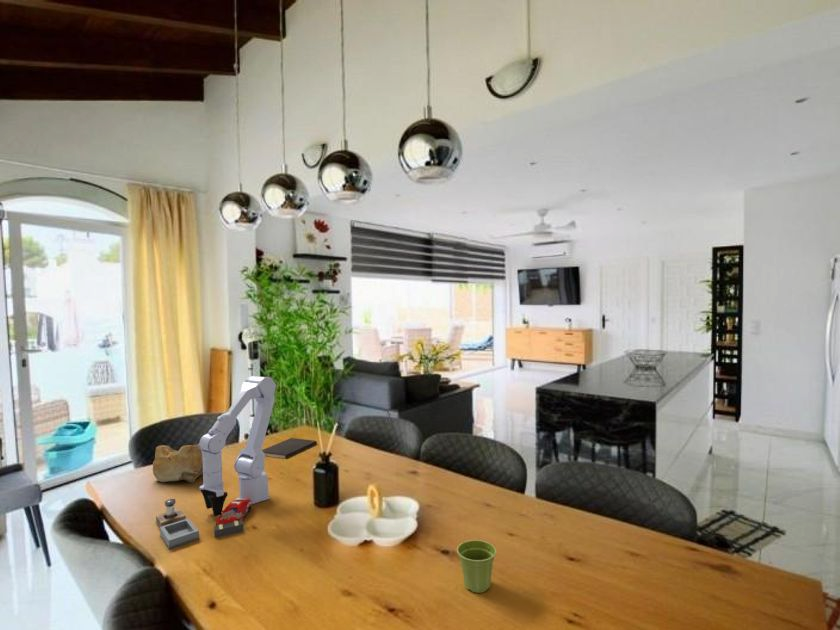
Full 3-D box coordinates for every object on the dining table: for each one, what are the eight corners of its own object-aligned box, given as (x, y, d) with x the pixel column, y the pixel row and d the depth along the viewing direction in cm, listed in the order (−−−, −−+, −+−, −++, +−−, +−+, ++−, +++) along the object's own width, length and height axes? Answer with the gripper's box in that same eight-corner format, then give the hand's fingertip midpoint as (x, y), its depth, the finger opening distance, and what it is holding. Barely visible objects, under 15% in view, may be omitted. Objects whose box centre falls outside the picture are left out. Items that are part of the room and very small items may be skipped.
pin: (174, 519, 146) (174, 498, 146) (177, 522, 144) (176, 500, 144) (164, 522, 144) (163, 500, 144) (166, 525, 142) (166, 503, 142)
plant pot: (454, 575, 112) (454, 540, 112) (491, 572, 113) (490, 538, 113) (461, 599, 103) (460, 562, 103) (501, 596, 103) (500, 559, 103)
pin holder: (179, 515, 149) (179, 508, 149) (185, 522, 144) (185, 515, 144) (156, 522, 145) (155, 515, 145) (161, 529, 139) (160, 523, 139)
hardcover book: (258, 456, 210) (258, 451, 210) (291, 442, 231) (291, 437, 231) (285, 460, 203) (285, 455, 203) (317, 445, 224) (316, 440, 224)
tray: (188, 526, 141) (188, 518, 141) (199, 539, 133) (198, 530, 133) (160, 535, 136) (159, 527, 136) (169, 549, 128) (168, 540, 128)
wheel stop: (242, 527, 140) (242, 519, 140) (243, 532, 137) (243, 523, 137) (214, 534, 136) (214, 525, 136) (214, 538, 134) (214, 530, 134)
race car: (233, 532, 138) (232, 516, 137) (212, 532, 138) (211, 516, 138) (255, 508, 154) (255, 493, 154) (236, 508, 154) (236, 493, 154)
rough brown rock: (225, 475, 187) (225, 438, 188) (194, 487, 171) (194, 447, 173) (182, 471, 194) (182, 437, 196) (148, 483, 179) (148, 445, 180)
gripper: (193, 468, 150) (194, 508, 150) (206, 479, 139) (207, 523, 139) (215, 462, 155) (216, 501, 155) (229, 473, 144) (231, 515, 144)
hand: (214, 511), depth 148 cm, fingers open, 7 cm apart
